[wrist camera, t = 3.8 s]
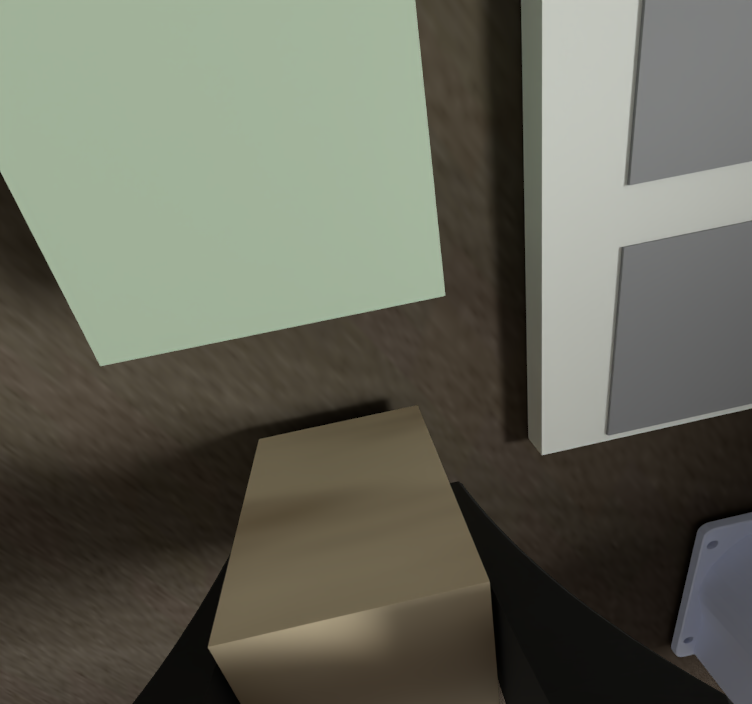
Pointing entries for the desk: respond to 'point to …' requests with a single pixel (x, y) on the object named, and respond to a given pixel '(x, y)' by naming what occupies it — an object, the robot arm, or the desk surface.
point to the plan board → (636, 215)
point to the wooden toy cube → (355, 574)
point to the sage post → (219, 163)
